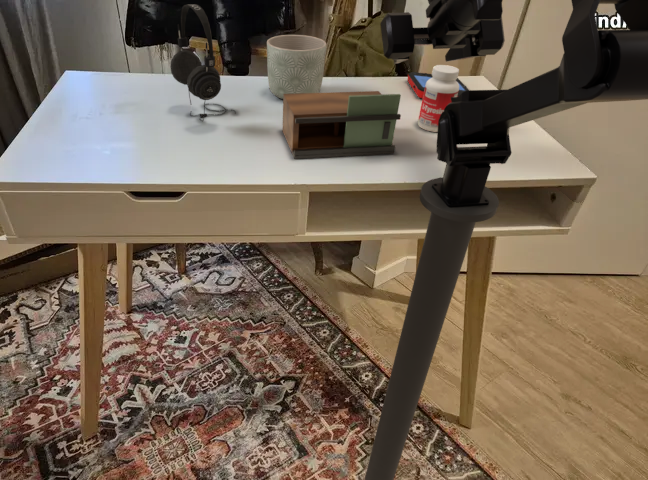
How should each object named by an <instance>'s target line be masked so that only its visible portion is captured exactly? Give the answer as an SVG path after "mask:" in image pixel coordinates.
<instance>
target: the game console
mask: <svg viewBox="0 0 648 480" xmlns="http://www.w3.org/2000/svg"><path fill="white" fill-rule="evenodd" d="M432 77H433V76H432V73H427V72H418V71H411V72H409V73H407V82H408V84H409V85H410V87H411V88H412V90H413V91H414V93H415V94H416V96H417V98H419V99H420V100H421V99H423V95H424V90H425V85H426V82H427V81H428V80H429V79H430V78H432ZM456 81H457V82H458V84H459V91H458V95H457V97H458V96H459V95H460V94H461V93H463V92H465V91H467V90H470V89H469V88H468V87H467V85H465V84H464V83H463V82H462V81H461V79H459V77H458V78H457V79H456Z"/></svg>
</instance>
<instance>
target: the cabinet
mask: <svg viewBox="0 0 648 480" xmlns="http://www.w3.org/2000/svg"><path fill="white" fill-rule="evenodd" d="M353 95H383V94H382V93H381V92H380V91H379V90H369V91H367V90H365V91H363V90H362V91H336V92H335V91H334V92H319V93H298V94H283V99H282V104H283V105H282V129H281V130H282V133H283V135H284V138H285V141H286V143H287V145H288V147H289V150H290V152H291V154H292V157H293V159H294V160H301V159H320V158H340V157H360V156H361V157H362V156H381V155H395V151H396V146H395V144H392V145H385V146H364V147H343V144H344V135H345V126H346V122H350V121H375V120H396V121H397V120H398V121H399V120H401V117H402V114H400V113H398V114H383V115H357V116H347V108H348V99H349V96H353Z"/></svg>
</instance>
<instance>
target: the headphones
mask: <svg viewBox="0 0 648 480" xmlns="http://www.w3.org/2000/svg"><path fill="white" fill-rule="evenodd" d="M190 9H191V10H193V12H194V13H195V14H196V16H197V17H198V19H199V20H200V23H201V25H202V27H203V30H204V34H205V37H206V42H205V56H204V58H203V59H204V63H203V64H202V61H201V59H200V57H199V56H198V55H197V54H196V53H195V52H193V51H191V50H188V49H183V48H188V47H189V40H188V37H186V20H187V15H188V12H189V10H190ZM177 31H178V38H177V43H178V48H180V51H178V52H176V53H175V54H174V55H173V56H172V58H171V60H170V73H171V75H172V77H173V78H174V80H176V82H178V83H179V84H182V85H184V86H185V85H187V89H188V97H189V103H190V104H192V99H191V95H190V94H192V95H193V96H194V97H196V98H199V99H200V100H201V101H204V103H203V113H199V114H195V115H192V112H190V113H189V116H190V117H198V116H199V121H201V122H203V121H204V120H205V117H208V116H213V114H207V113H205V112H206V110H209V111H211V112H212V111H213V112H218V110H217V109H215V110H214V109H210V108H207V107H206V105H208V103H206V101H209V100H213V99H214V98H216V97H217V96H218V95H219V94H220V92H221V89H222V83H221V76H220V73H219V71H218V69H216V67H215V66H216V56H215V55H214V45H213V44H214V43H213V38H212V30H211V26H210V21H209V19H208V15H207V14H206V12H205V10H204V9H203V7H201V6H200V5H199V4H196V3H194V4H193V3H192V4H191V3H190V4H184V5H183V6H182V8H181V11H180V24H179V23H177ZM215 105H216V106H221V107H222V108H223V109H222V110H221V112H223V113H218V114H216V116H220V115H224V114H225V113H226V112H227V109H226V108H225V107H224V106H223V105H221V104H217V103H214V106H215ZM232 111H233V112H234V115H236V114H237V112H236V111H235V109H232ZM201 118H202V119H201Z"/></svg>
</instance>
